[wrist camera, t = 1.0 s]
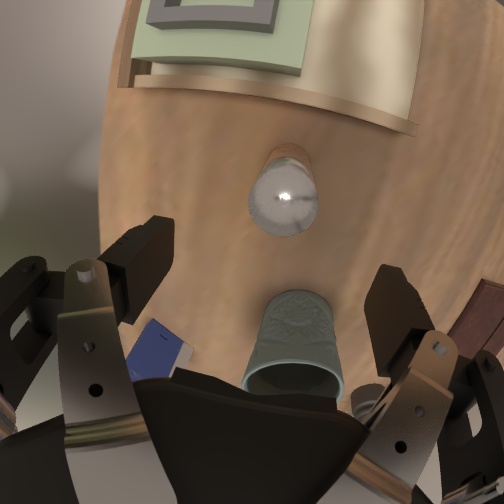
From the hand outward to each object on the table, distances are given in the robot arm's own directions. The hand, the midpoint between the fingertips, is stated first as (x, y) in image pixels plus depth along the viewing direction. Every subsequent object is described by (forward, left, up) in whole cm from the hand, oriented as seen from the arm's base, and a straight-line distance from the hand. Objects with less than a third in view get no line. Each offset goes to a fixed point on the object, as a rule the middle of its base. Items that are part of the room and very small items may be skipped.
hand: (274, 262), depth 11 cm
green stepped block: (+7, -15, -17) cm, 24 cm away
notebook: (-36, +17, -19) cm, 44 cm away
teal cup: (-5, +18, -19) cm, 27 cm away
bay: (+3, -15, -19) cm, 24 cm away
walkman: (+12, +28, -19) cm, 36 cm away
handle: (0, 0, -19) cm, 19 cm away
